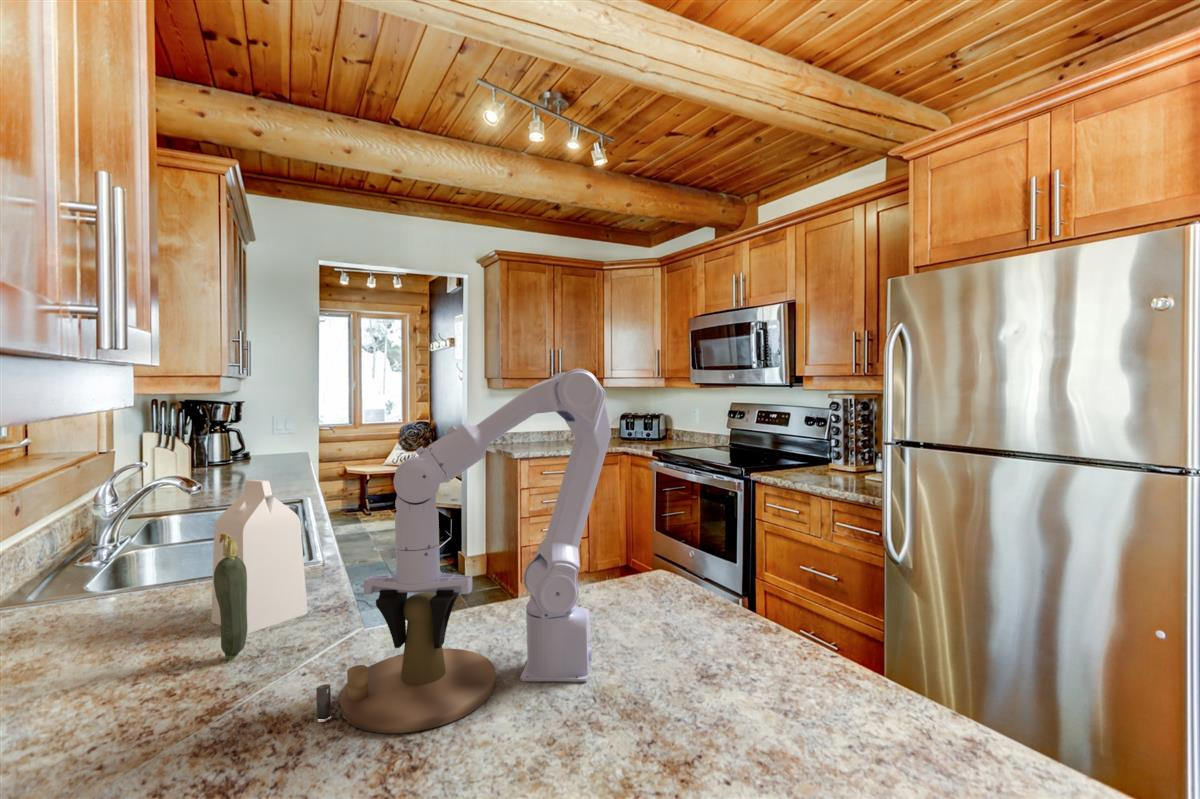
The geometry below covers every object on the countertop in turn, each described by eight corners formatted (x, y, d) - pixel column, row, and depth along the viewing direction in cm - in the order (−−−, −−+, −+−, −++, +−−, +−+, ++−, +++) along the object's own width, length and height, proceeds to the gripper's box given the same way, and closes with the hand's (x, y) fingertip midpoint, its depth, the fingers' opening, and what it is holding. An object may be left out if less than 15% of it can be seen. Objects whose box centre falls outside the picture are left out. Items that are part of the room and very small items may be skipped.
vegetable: (254, 657, 90) (252, 531, 90) (227, 669, 86) (224, 537, 87) (237, 653, 92) (234, 529, 92) (209, 664, 88) (206, 535, 88)
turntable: (470, 647, 92) (469, 616, 92) (517, 702, 74) (516, 663, 74) (333, 680, 81) (332, 645, 81) (351, 753, 64) (350, 708, 64)
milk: (307, 613, 109) (304, 478, 110) (244, 634, 100) (240, 486, 100) (274, 603, 116) (271, 475, 116) (211, 622, 106) (208, 482, 106)
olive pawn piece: (431, 687, 76) (431, 604, 76) (391, 682, 77) (390, 601, 77) (453, 666, 82) (453, 589, 82) (415, 661, 83) (415, 586, 83)
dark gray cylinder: (476, 672, 83) (476, 644, 83) (444, 724, 70) (443, 692, 70) (367, 671, 85) (366, 644, 85) (314, 722, 71) (313, 690, 71)
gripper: (477, 538, 81) (480, 633, 81) (379, 539, 82) (381, 633, 82) (462, 551, 74) (464, 655, 74) (355, 551, 75) (357, 654, 75)
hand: (419, 645), depth 78 cm, fingers closed on olive pawn piece, 5 cm apart
